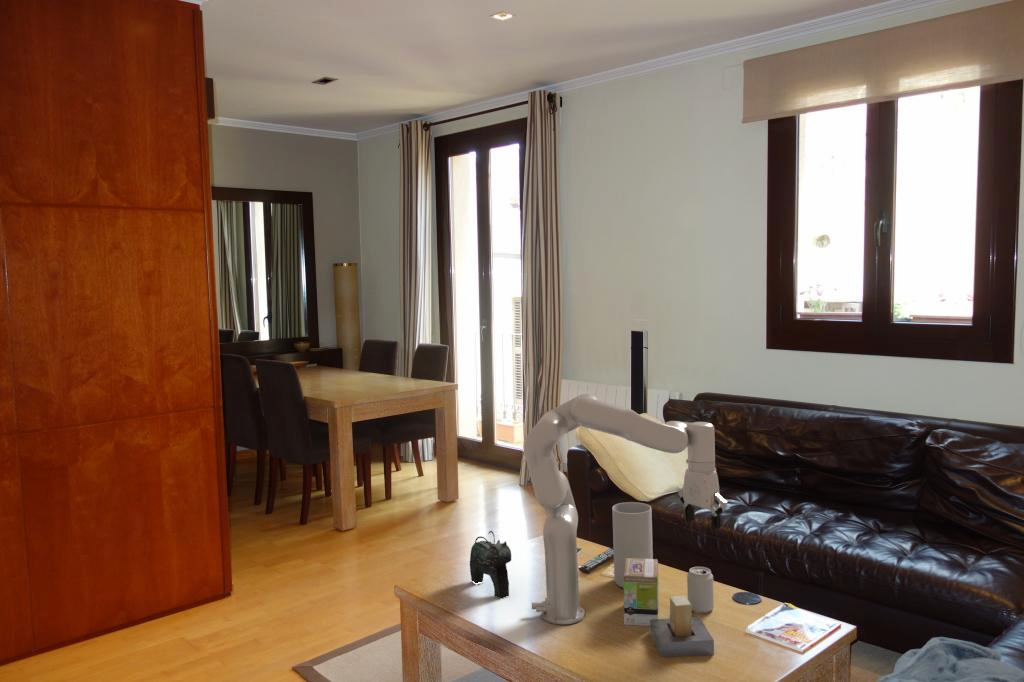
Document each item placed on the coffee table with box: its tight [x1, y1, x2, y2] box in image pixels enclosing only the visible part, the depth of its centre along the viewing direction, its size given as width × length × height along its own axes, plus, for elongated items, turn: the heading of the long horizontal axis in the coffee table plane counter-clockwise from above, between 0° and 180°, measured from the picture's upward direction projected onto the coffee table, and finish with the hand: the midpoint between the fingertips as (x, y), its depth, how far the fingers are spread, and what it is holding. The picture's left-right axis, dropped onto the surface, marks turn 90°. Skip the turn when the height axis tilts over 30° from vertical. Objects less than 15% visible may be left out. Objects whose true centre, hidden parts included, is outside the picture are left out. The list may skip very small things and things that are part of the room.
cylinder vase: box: [611, 501, 654, 589], centre depth 254 cm, size 12×12×25 cm
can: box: [686, 566, 715, 614], centre depth 233 cm, size 8×8×12 cm
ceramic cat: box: [469, 530, 512, 599], centre depth 253 cm, size 20×6×20 cm, turn 34°
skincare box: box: [669, 595, 692, 637], centre depth 211 cm, size 6×4×12 cm
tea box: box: [623, 558, 660, 627], centre depth 230 cm, size 15×10×15 cm, turn 170°
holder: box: [649, 616, 715, 658], centre depth 212 cm, size 14×14×4 cm
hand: (702, 524), depth 224 cm, fingers open, 9 cm apart
